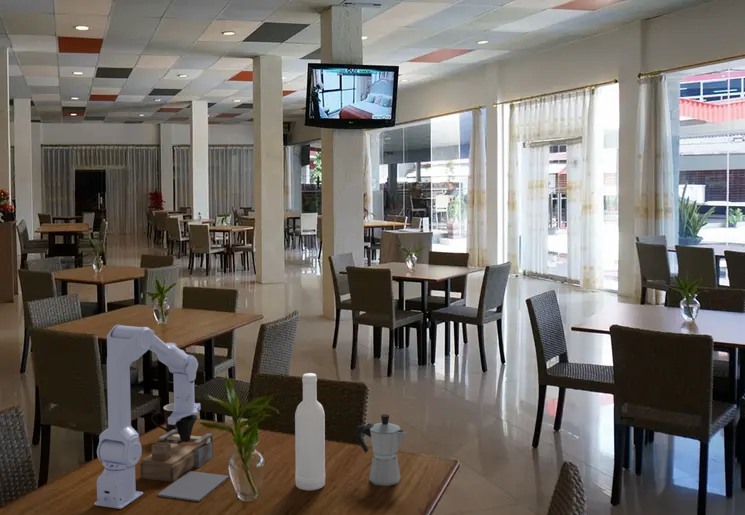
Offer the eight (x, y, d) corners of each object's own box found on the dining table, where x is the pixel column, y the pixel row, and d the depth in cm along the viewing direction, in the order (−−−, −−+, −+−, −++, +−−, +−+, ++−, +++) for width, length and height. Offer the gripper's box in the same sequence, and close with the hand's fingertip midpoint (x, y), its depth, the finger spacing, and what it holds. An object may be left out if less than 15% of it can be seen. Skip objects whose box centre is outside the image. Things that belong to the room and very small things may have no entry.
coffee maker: (411, 475, 200) (411, 412, 198) (403, 488, 191) (404, 422, 190) (359, 470, 204) (359, 407, 202) (349, 482, 195) (349, 417, 194)
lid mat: (199, 501, 183) (199, 499, 183) (157, 496, 187) (157, 494, 186) (229, 477, 198) (229, 475, 198) (190, 472, 202) (190, 470, 202)
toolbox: (178, 482, 195) (177, 456, 194) (136, 477, 199) (135, 451, 198) (213, 457, 213) (212, 433, 212) (174, 452, 217) (173, 429, 216)
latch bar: (206, 443, 209) (206, 439, 209) (167, 439, 213) (167, 435, 213) (210, 441, 211) (210, 437, 211) (171, 437, 215) (170, 433, 215)
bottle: (331, 483, 195) (330, 373, 192) (313, 493, 188) (312, 380, 185) (307, 476, 199) (306, 369, 196) (289, 486, 193) (288, 375, 190)
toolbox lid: (172, 467, 195) (171, 449, 195) (141, 463, 198) (141, 445, 197) (198, 449, 208) (197, 432, 208) (169, 446, 211) (168, 429, 210)
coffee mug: (196, 433, 234) (195, 403, 233) (186, 442, 226) (186, 411, 225) (161, 432, 235) (160, 401, 234) (150, 441, 227) (149, 410, 226)
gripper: (183, 403, 201) (184, 451, 202) (209, 389, 215) (210, 434, 216) (160, 401, 203) (162, 448, 204) (188, 387, 217) (189, 432, 218)
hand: (185, 441), depth 210 cm, fingers closed
